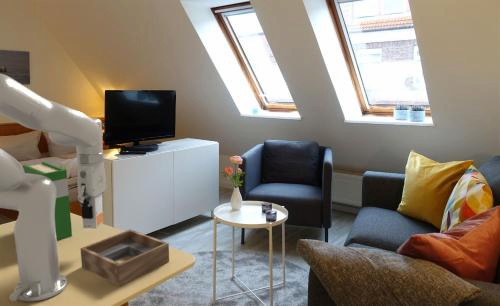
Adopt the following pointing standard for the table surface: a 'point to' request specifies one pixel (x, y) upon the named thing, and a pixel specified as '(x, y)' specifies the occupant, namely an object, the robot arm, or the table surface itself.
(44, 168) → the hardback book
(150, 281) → the table surface
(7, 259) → the table surface
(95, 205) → the skincare box
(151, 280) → the table surface
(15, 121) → the robot arm
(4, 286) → the table surface
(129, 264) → the socket box
